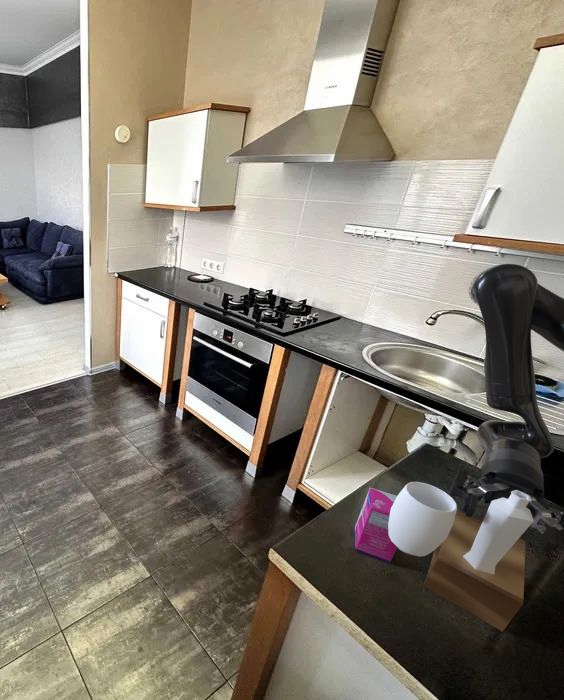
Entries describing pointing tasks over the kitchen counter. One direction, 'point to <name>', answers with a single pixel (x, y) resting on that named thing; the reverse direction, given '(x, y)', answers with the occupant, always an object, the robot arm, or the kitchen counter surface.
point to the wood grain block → (477, 576)
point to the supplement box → (375, 526)
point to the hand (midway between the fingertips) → (508, 529)
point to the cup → (421, 518)
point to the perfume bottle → (500, 531)
